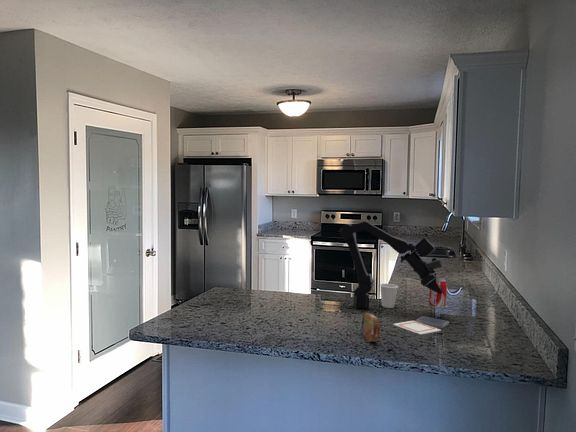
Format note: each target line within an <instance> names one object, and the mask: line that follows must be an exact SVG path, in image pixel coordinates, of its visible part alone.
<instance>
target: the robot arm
mask: <svg viewBox="0 0 576 432" xmlns="http://www.w3.org/2000/svg"><path fill="white" fill-rule="evenodd" d="M339 231H340V232H339V233H340V235H341V237H342V239H343V240H344V241H345V243H346V245H347V247H348V250H349V253H350V256H351V258H352V262H353V265H354V267H355V271H356V273H357V284H358V286H357V287H356V288H355V289H354V290H353V296H352V297H353V299H352V305H350V306H351V308H354V309H355V310H357V311H358V310H363V311H364V310H371V308H370V295H369V294H368V293H370V292H371V291H372V289H373V288H374V284H375V280H374V279H373V273H368V271H367V269H366V266H365V264H364V261H363V257H362V255H361V252H360V248H359V246H358V242H357V232H362V231H366V232H368V233H369V234H370V235H373V236H374V237H376V238H378V239H380V240H381V241H383V242H385V243H386V244H387V245H389V246H390V247H391V248H392V250H394V251H395V252H397V253H398V254H399V255H400V262H401V263H403V262H404V261H405V262H406V263H407V264H408V265H409V266H410V268H411V269H412V271H413V272H414V273H416V274H417V276H419V277H418V278H419V279H420V284H421V285H422V286H423V287H425V288H427V289H429V290H430V289H431V290H433V291H435V292H437V293H439V294H442V291H441V289H440V288H439V286H438V284H437V283H436V278H437V271H436V269H438V268H439V269H440V268H442V267H443V264H442V262H441V259H440V258H436V257H433V258H431V261H429V262H427V261H426V260H423V259H422V257H424V258H427V256H429V255H430V254H431V253H433V252H434V251H435V250H436V248H435V246H434V244H432V243H431V241H429V240H428V239H427V238H426V237H423V238H422V239H421V240H420V241H419V242H417V243H416V244H415V243H409V242H408V241H407V240H405V239H403V238H400V237H398V236H394V235H392V234H390V233H388V232H386V231H385V230H384V229H381V228H379V227H377V226H375V225H374V224H372V222H370V221H367V220H364V221H362V222H358V223H355V224H352V223H345V224H343V225H342V226H340V229H339ZM411 251H412V252H411ZM403 254H404V255H403Z"/></svg>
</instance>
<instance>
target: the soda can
mask: <svg viewBox="0 0 576 432" xmlns="http://www.w3.org/2000/svg"><path fill="white" fill-rule="evenodd" d="M436 283H437V284H438V286H439V288H440V289H441V291H442V294H439V293H437V292H435V291H433V290H431V289H429V295H428V305H429V306H430V307H431V308H433V309H443V308H445V307H446V305H447V295H448V282H447V279H444V278H441V277H440V278H439V277H436Z"/></svg>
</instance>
